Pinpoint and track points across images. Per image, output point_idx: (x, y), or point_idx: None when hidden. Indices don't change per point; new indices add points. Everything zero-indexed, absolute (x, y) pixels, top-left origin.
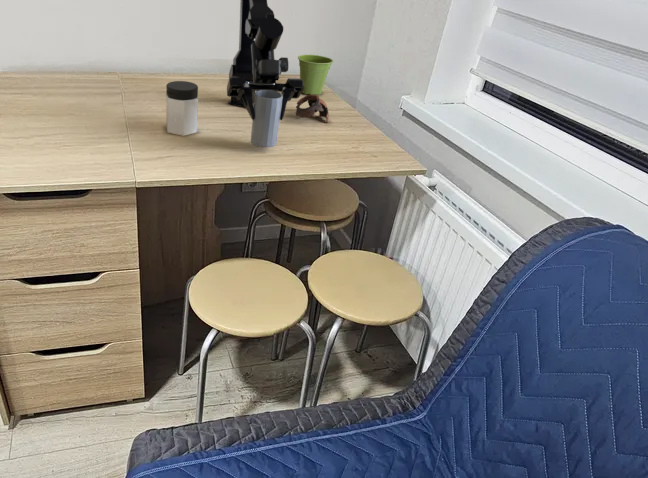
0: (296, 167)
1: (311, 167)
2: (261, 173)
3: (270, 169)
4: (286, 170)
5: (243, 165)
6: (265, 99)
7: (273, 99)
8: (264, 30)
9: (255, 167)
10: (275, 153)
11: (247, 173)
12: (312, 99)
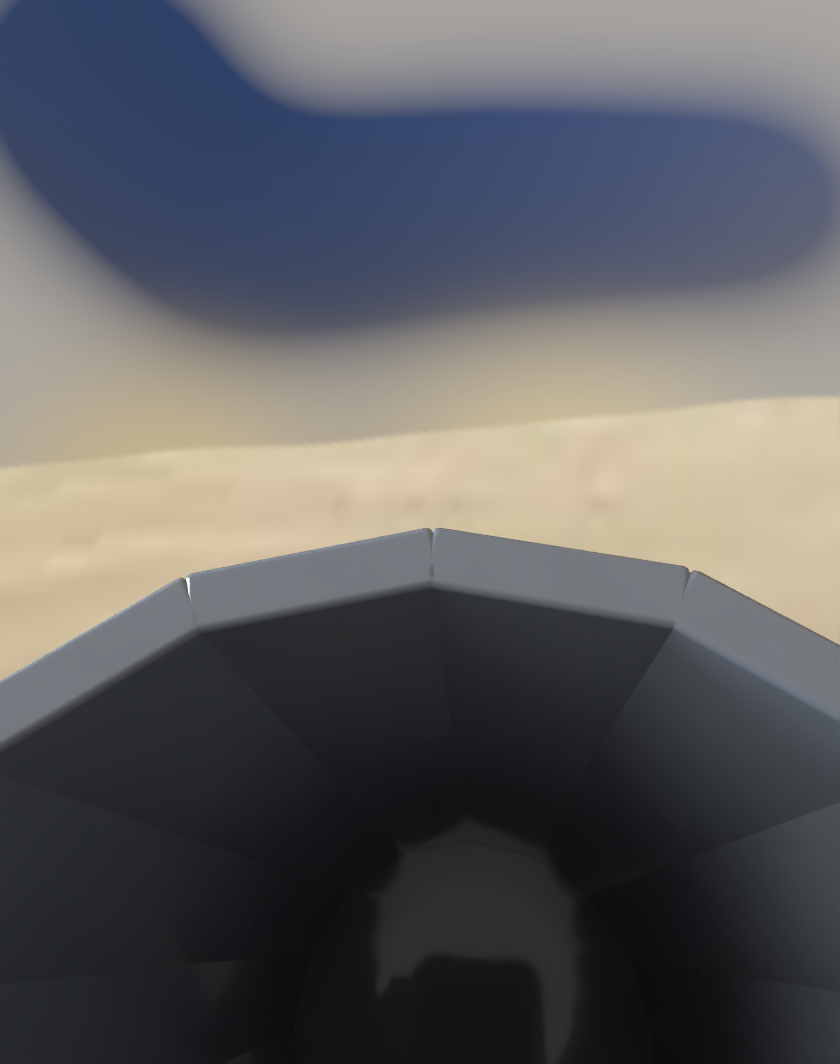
0: (246, 525)
1: (110, 525)
2: (590, 423)
3: (496, 489)
4: (357, 473)
5: (746, 565)
6: (726, 619)
7: (371, 552)
8: None
9: (630, 526)
10: None
11: (713, 422)
12: None
